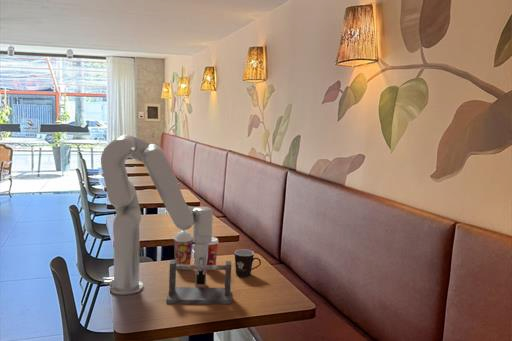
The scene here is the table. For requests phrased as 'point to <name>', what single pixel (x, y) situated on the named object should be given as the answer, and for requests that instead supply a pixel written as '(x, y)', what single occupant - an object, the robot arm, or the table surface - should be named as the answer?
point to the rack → (199, 293)
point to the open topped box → (200, 284)
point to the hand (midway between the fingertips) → (200, 280)
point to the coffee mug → (244, 262)
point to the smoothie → (183, 247)
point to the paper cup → (212, 252)
